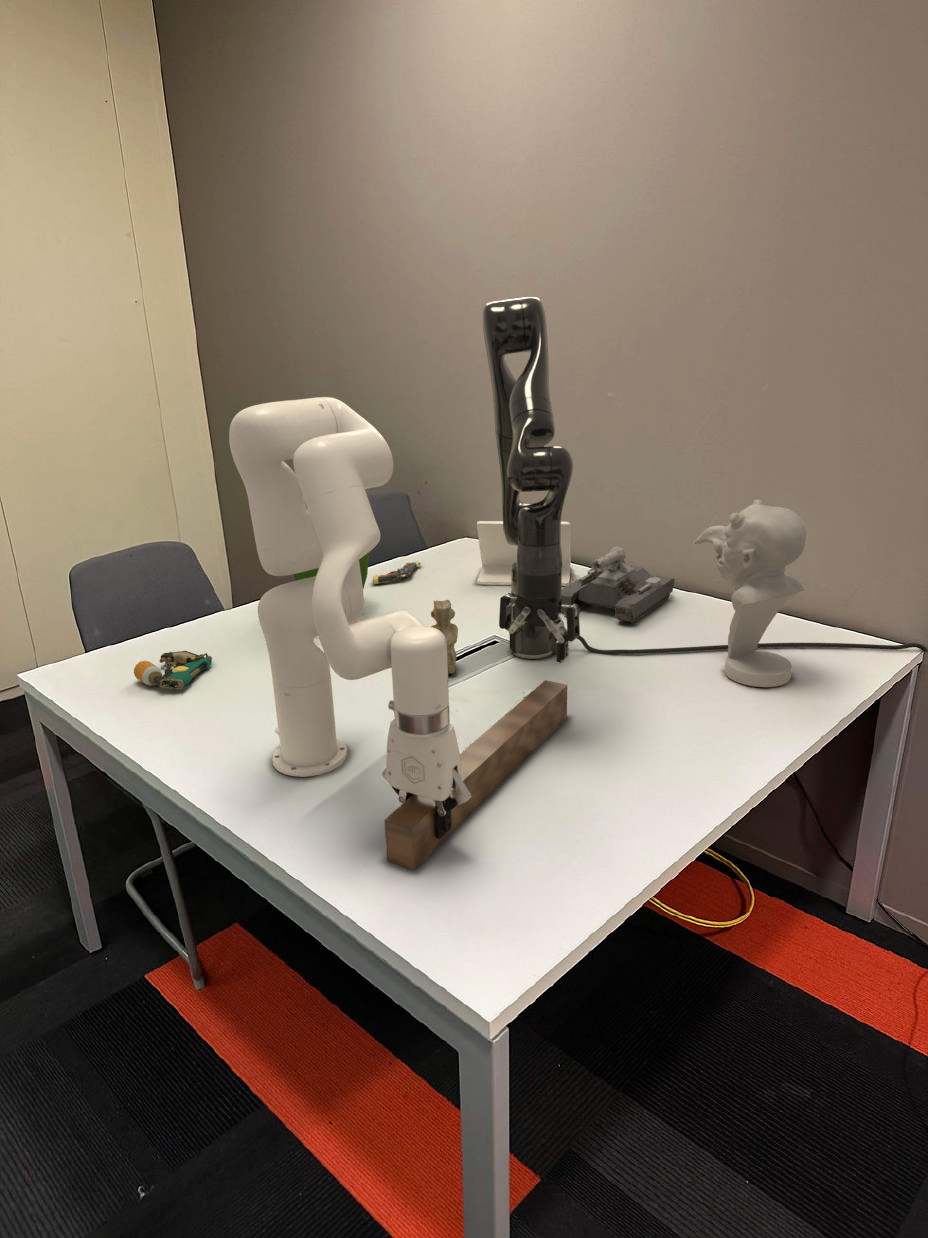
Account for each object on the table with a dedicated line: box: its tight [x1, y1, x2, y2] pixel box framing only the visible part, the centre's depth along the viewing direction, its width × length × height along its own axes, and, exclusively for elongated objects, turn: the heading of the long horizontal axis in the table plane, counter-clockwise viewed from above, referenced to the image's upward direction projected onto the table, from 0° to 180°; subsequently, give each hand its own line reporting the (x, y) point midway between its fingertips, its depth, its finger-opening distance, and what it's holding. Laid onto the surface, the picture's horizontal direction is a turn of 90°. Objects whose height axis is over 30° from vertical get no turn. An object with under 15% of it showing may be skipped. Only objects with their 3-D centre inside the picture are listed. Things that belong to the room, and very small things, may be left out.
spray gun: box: [133, 650, 213, 690], centre depth 180 cm, size 4×17×15 cm
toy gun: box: [372, 561, 422, 585], centre depth 242 cm, size 3×19×10 cm
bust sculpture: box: [693, 499, 807, 688], centre depth 171 cm, size 16×24×35 cm, turn 28°
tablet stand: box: [476, 520, 572, 587], centre depth 236 cm, size 18×25×17 cm
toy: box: [561, 546, 676, 624], centre depth 212 cm, size 25×20×15 cm
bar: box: [383, 680, 569, 871], centre depth 138 cm, size 51×4×7 cm, turn 149°
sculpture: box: [430, 599, 459, 675], centre depth 177 cm, size 6×7×15 cm
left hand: (427, 827), depth 123 cm, fingers closed on bar, 4 cm apart
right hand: (538, 656), depth 148 cm, fingers open, 8 cm apart
